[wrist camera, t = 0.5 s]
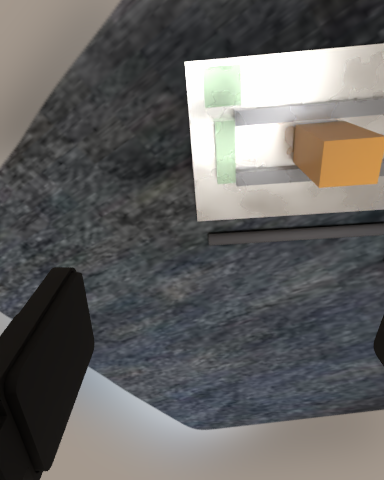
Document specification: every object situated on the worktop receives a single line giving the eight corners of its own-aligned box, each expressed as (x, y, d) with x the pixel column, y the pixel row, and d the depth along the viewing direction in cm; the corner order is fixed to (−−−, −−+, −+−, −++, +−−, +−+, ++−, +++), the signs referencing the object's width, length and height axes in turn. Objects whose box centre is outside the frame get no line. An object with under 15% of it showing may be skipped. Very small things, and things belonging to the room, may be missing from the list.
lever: (343, 120, 27) (387, 136, 21) (338, 158, 28) (377, 183, 22) (295, 124, 27) (324, 141, 21) (293, 161, 28) (318, 187, 22)
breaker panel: (463, 36, 25) (496, 32, 22) (417, 202, 32) (438, 215, 29) (185, 62, 26) (183, 61, 23) (197, 216, 33) (197, 230, 30)
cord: (402, 219, 33) (409, 225, 31) (399, 230, 33) (406, 235, 32) (208, 232, 34) (208, 237, 33) (208, 242, 34) (209, 247, 33)
